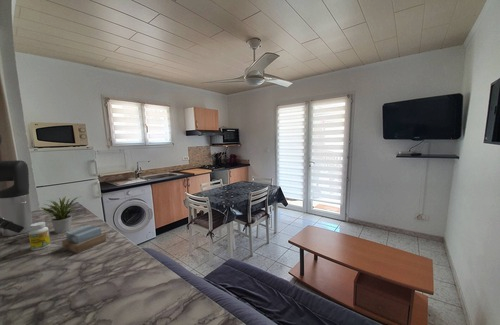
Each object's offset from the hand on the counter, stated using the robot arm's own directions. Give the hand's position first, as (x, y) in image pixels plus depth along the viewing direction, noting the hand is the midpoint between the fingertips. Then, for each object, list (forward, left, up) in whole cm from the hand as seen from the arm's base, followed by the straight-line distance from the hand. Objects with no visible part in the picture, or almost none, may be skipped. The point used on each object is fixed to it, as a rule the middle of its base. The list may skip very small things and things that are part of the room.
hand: (16, 228), depth 72 cm
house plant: (-11, +19, -10) cm, 24 cm away
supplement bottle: (0, +6, -10) cm, 12 cm away
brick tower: (+14, +14, -10) cm, 22 cm away
